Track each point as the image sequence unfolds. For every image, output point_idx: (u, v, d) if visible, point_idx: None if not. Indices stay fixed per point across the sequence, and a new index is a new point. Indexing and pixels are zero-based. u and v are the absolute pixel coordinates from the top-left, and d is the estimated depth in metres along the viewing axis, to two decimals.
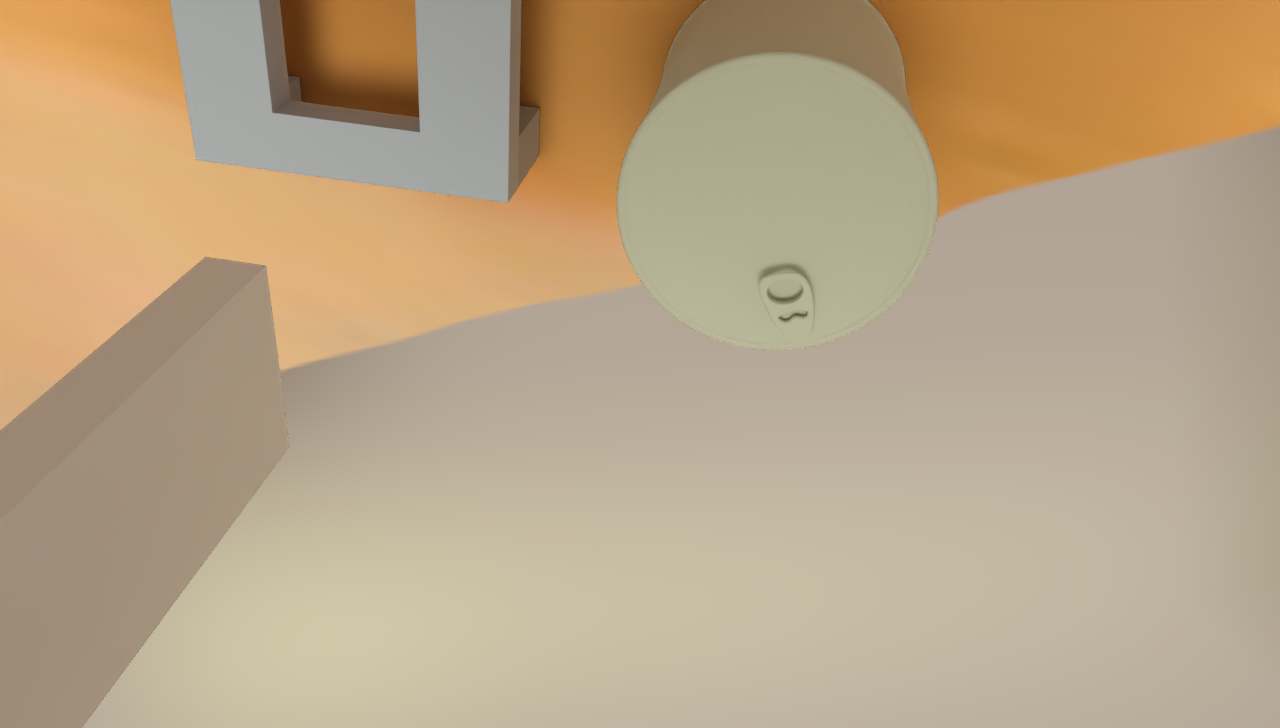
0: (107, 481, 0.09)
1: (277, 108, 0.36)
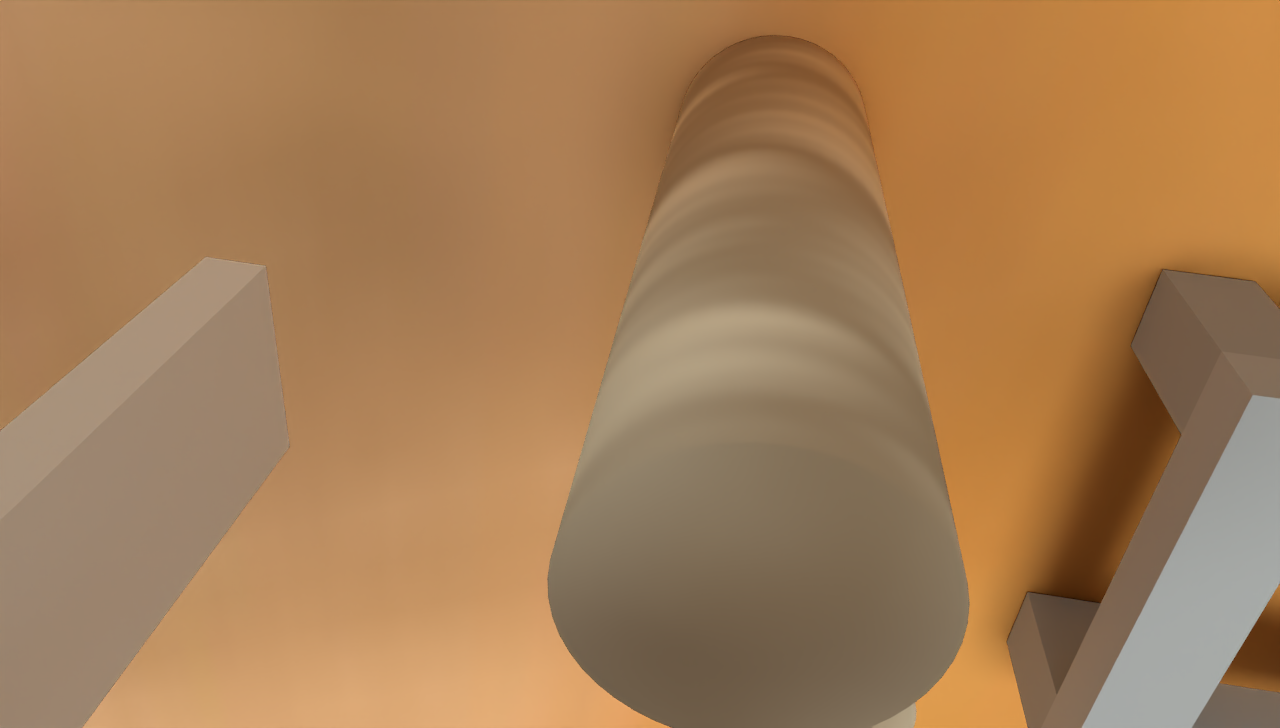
0: (107, 481, 0.09)
1: None
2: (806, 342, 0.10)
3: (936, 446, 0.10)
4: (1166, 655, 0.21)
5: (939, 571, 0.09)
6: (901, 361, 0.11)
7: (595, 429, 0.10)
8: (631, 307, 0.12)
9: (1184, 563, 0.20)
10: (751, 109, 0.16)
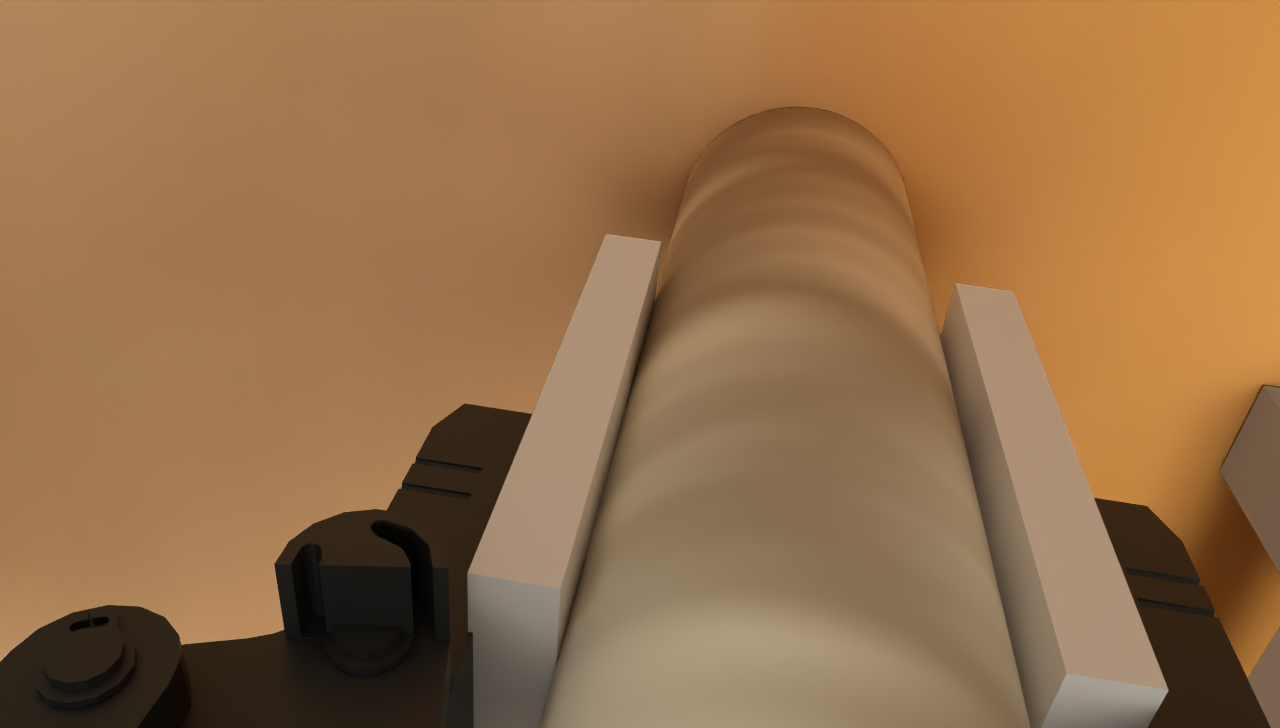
0: (617, 421, 0.11)
1: None
2: (857, 695, 0.06)
3: None
4: None
5: None
6: (997, 688, 0.07)
7: None
8: (601, 548, 0.09)
9: None
10: (770, 222, 0.13)
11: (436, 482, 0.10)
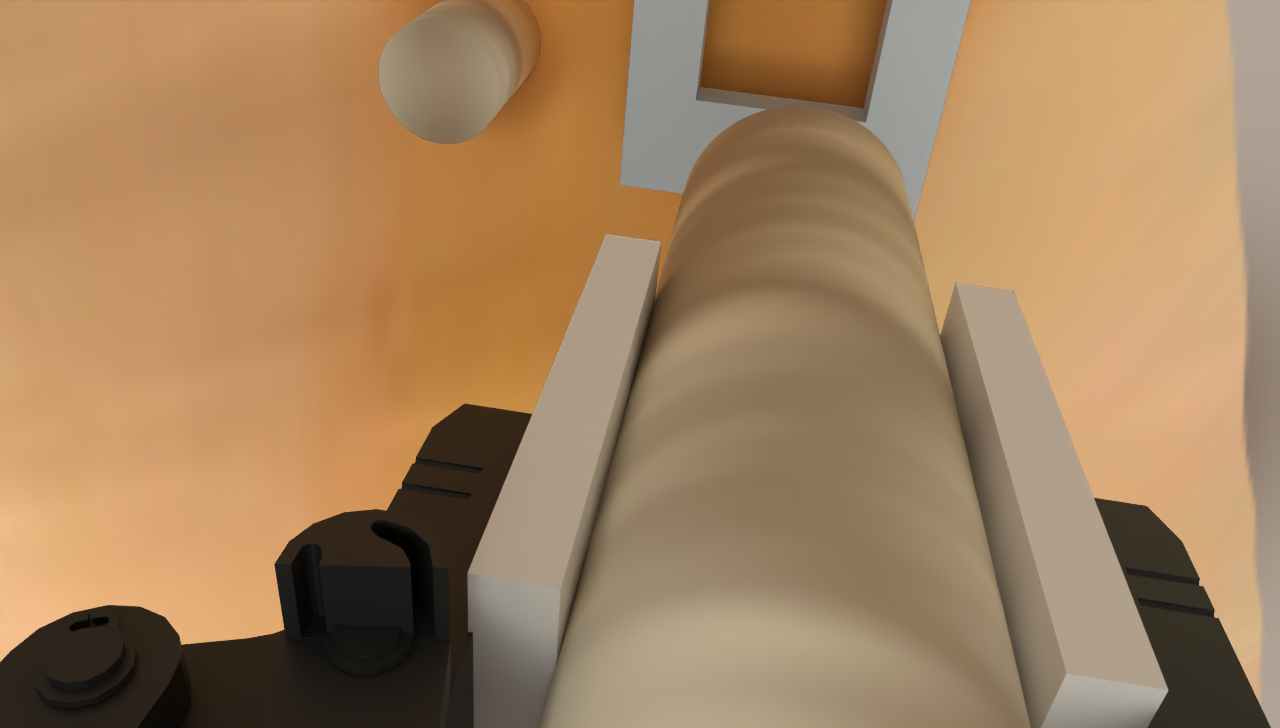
0: (618, 421, 0.11)
1: (865, 118, 0.32)
2: (857, 688, 0.06)
3: None
4: (662, 28, 0.31)
5: None
6: (995, 680, 0.07)
7: None
8: (602, 543, 0.09)
9: None
10: (770, 221, 0.13)
11: (436, 482, 0.10)
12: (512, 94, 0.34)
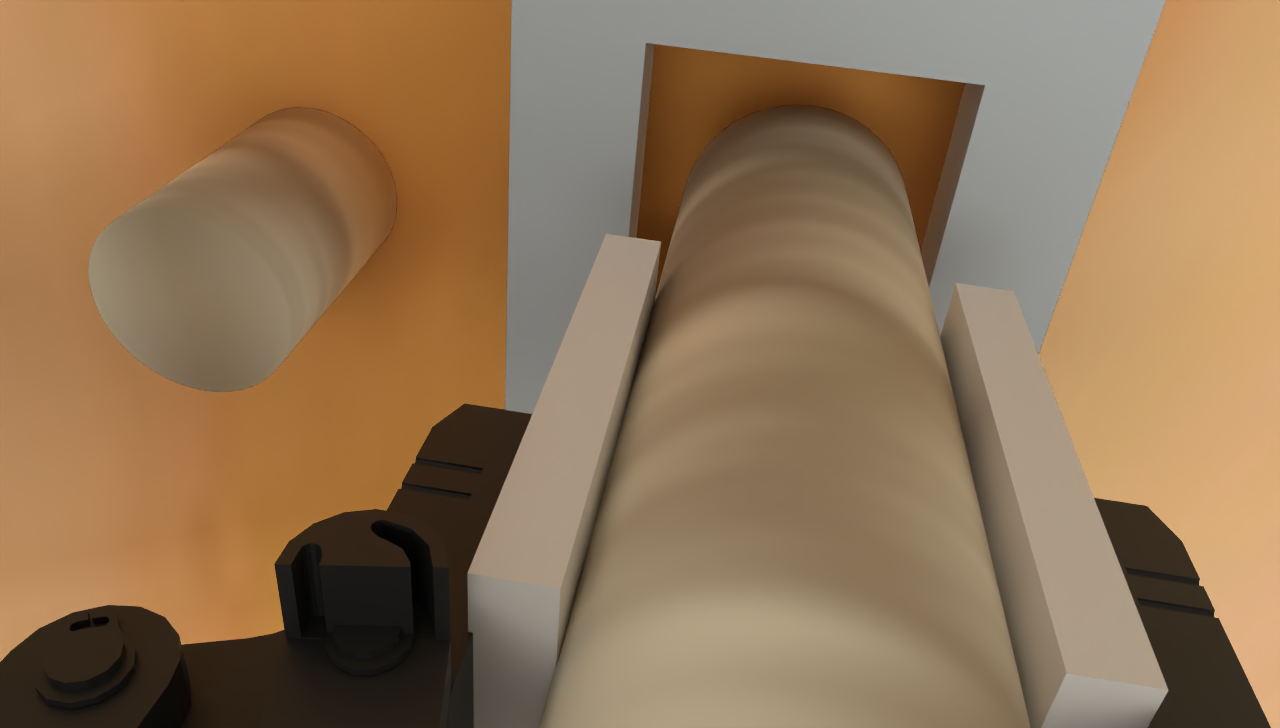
0: (617, 421, 0.11)
1: None
2: (856, 680, 0.06)
3: None
4: (558, 221, 0.18)
5: None
6: (992, 671, 0.07)
7: None
8: (603, 537, 0.09)
9: (529, 77, 0.17)
10: (770, 218, 0.13)
11: (436, 482, 0.10)
12: (338, 293, 0.22)
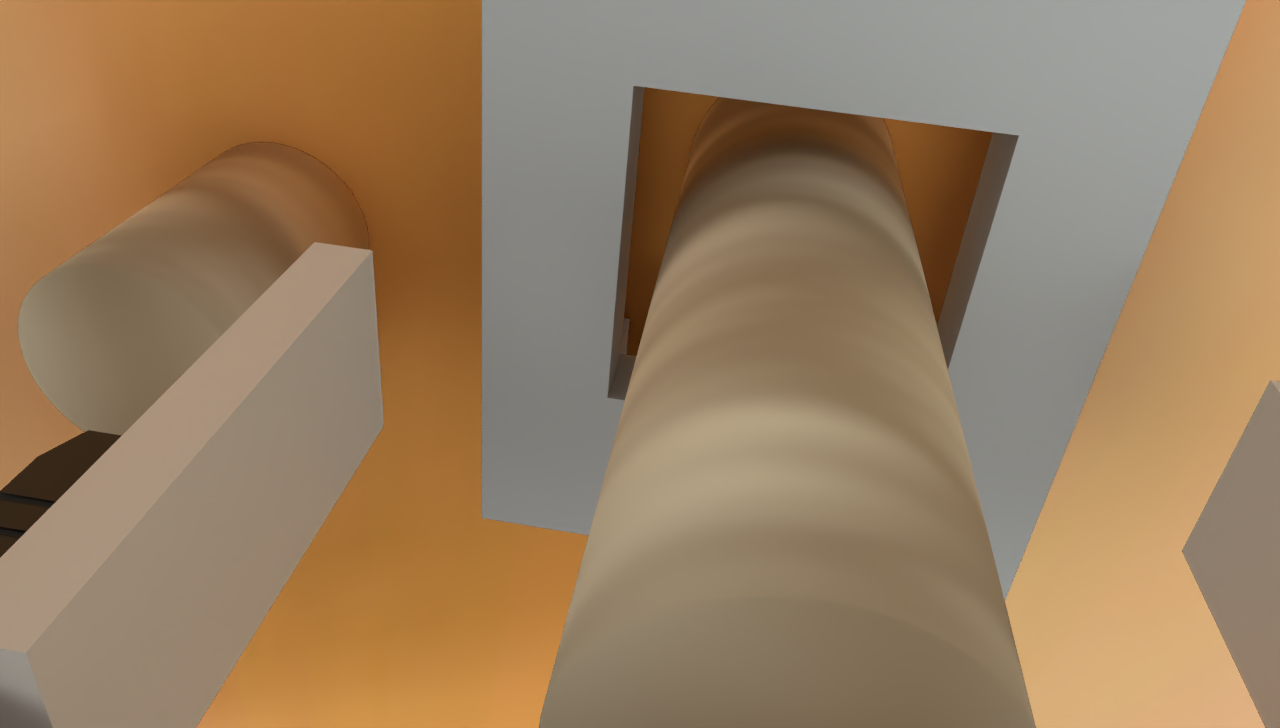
0: (250, 450, 0.10)
1: None
2: (844, 453, 0.08)
3: (996, 572, 0.09)
4: (537, 279, 0.16)
5: None
6: (953, 467, 0.09)
7: (595, 549, 0.09)
8: (639, 389, 0.11)
9: (503, 122, 0.15)
10: (772, 153, 0.15)
11: (8, 521, 0.09)
12: None
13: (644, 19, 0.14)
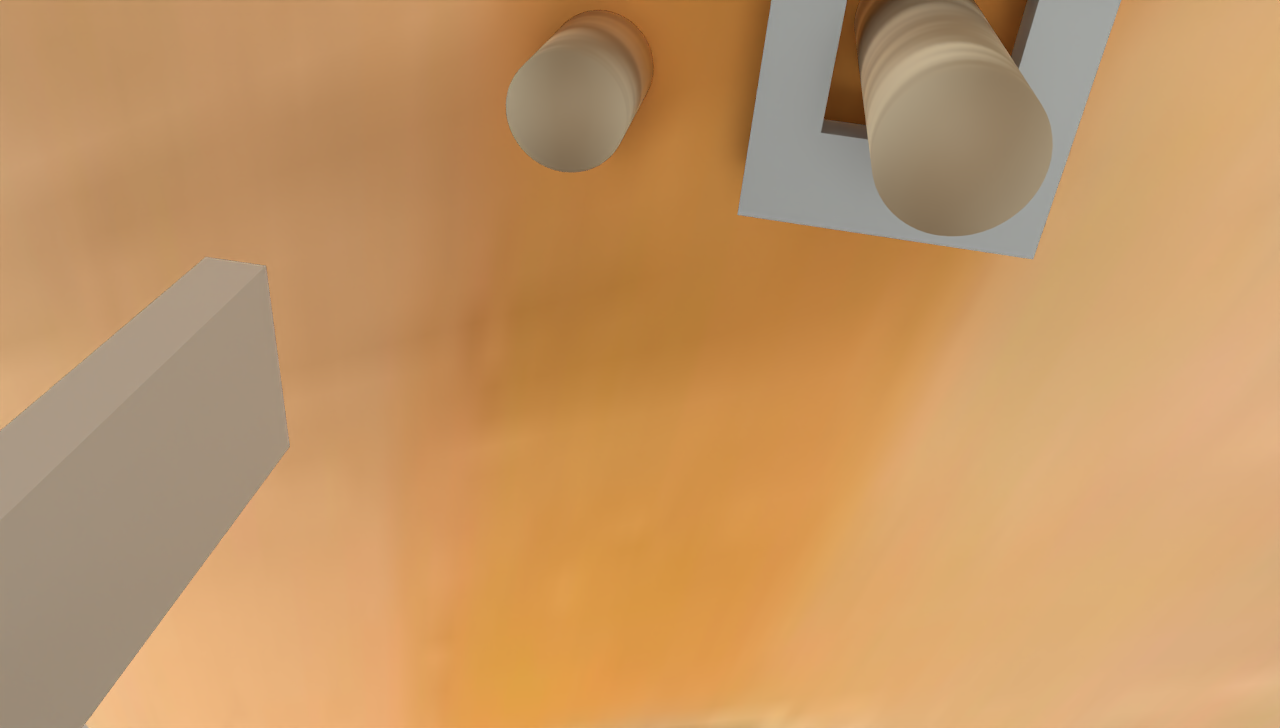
0: (108, 482, 0.09)
1: None
2: (981, 51, 0.23)
3: None
4: (791, 61, 0.31)
5: (1041, 130, 0.22)
6: (1019, 70, 0.24)
7: (886, 93, 0.24)
8: (883, 62, 0.26)
9: None
10: None
11: None
12: None
13: None
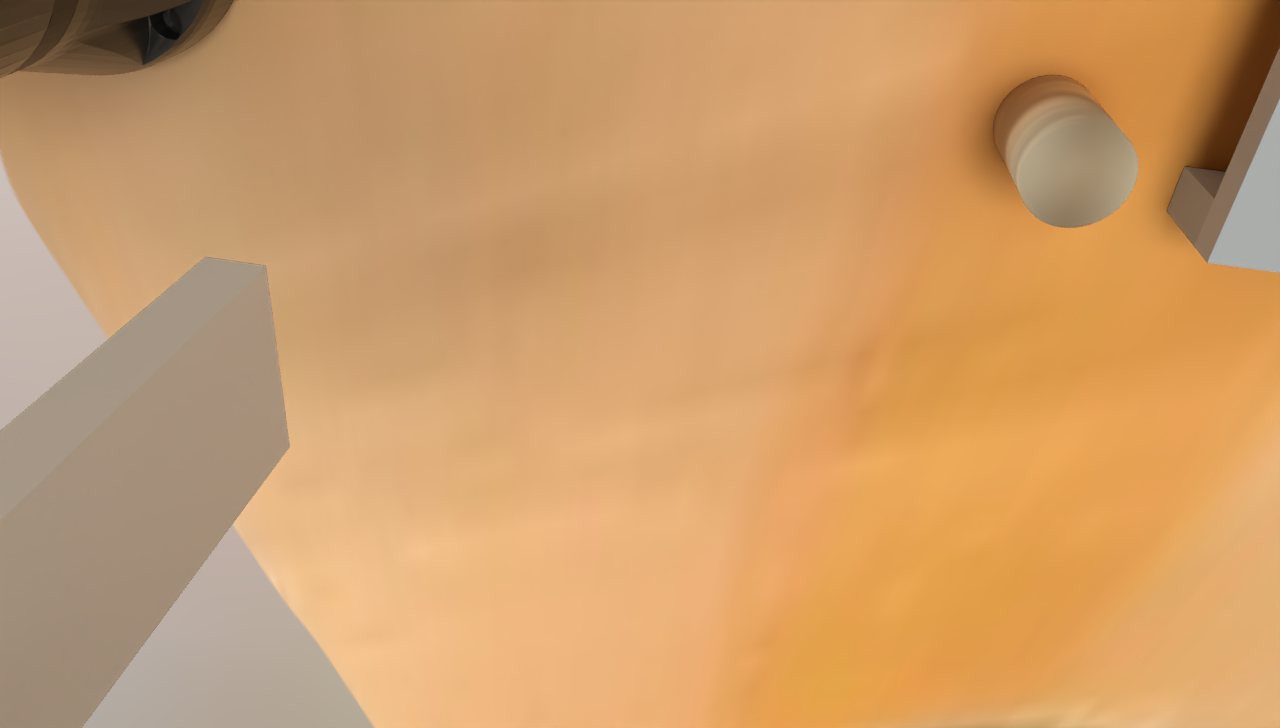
0: (106, 481, 0.09)
1: None
2: None
3: None
4: None
5: None
6: None
7: None
8: None
9: None
10: None
11: None
12: None
13: None
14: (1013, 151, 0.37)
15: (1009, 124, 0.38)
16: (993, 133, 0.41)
